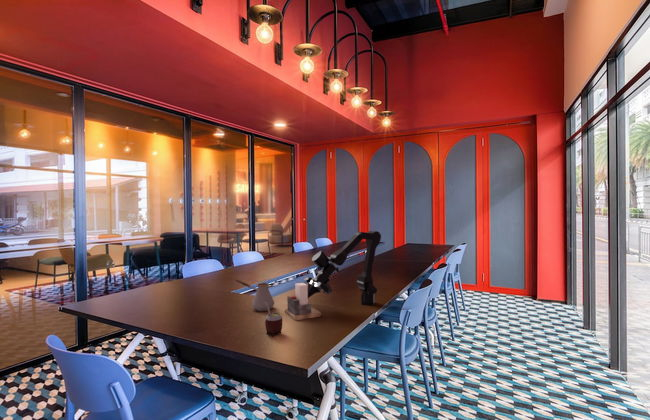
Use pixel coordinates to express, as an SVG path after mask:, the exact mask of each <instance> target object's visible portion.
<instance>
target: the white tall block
mask: <svg viewBox="0 0 650 420" xmlns="http://www.w3.org/2000/svg"><path fill="white" fill-rule="evenodd" d="M294 285H295V287H294V290H295V292H294V293H295V296H296V298H297V299H298V300H299V306H300V305H307V304H309V301H308V300H309V298H308V284H306V283H304V282H299V283H298V282H297V283H294Z"/></svg>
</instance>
